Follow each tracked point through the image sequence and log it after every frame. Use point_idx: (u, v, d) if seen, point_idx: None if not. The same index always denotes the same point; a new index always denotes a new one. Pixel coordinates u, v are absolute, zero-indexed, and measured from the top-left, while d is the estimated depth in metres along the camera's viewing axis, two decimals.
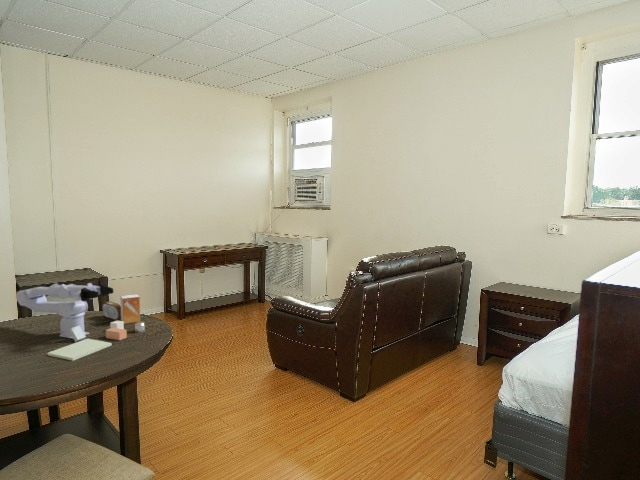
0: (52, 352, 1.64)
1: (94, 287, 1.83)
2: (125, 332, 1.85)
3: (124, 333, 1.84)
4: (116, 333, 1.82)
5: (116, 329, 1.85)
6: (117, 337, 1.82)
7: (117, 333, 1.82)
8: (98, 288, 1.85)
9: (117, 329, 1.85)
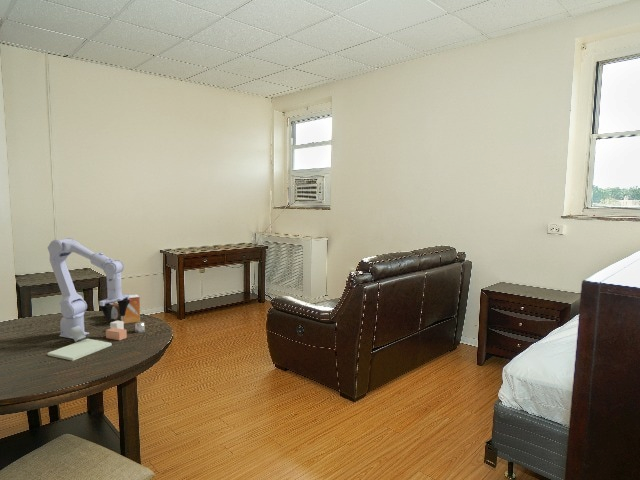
0: (52, 352, 1.64)
1: None
2: (125, 332, 1.85)
3: (124, 333, 1.84)
4: (116, 333, 1.82)
5: (116, 329, 1.85)
6: (117, 337, 1.82)
7: (117, 333, 1.82)
8: (123, 297, 1.87)
9: (117, 329, 1.85)
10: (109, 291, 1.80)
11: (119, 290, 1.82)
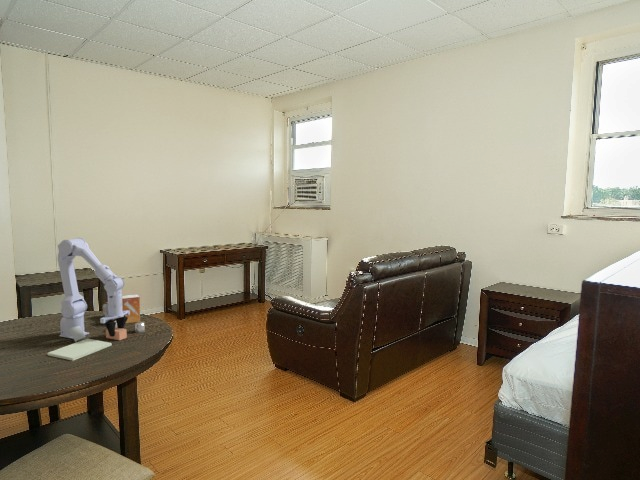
0: (52, 352, 1.64)
1: None
2: (125, 332, 1.85)
3: (124, 333, 1.84)
4: (116, 333, 1.82)
5: (116, 329, 1.85)
6: (117, 336, 1.82)
7: (117, 332, 1.82)
8: (124, 314, 1.87)
9: (117, 329, 1.85)
10: (110, 308, 1.81)
11: (120, 307, 1.83)
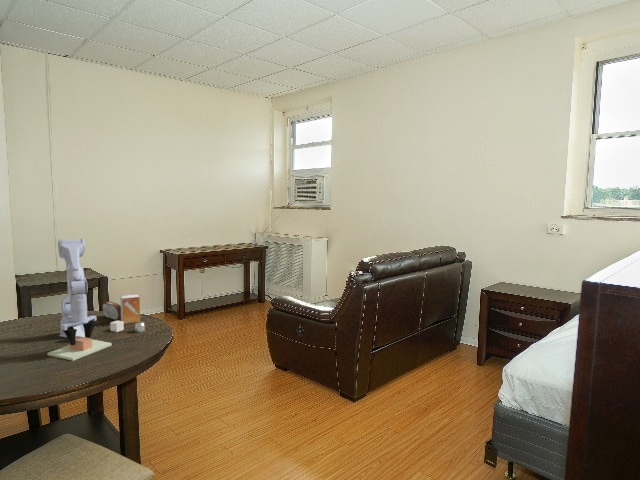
0: (52, 352, 1.64)
1: None
2: (90, 341, 1.69)
3: (89, 342, 1.69)
4: (80, 342, 1.66)
5: (81, 338, 1.70)
6: (81, 346, 1.66)
7: (81, 342, 1.66)
8: None
9: (82, 338, 1.70)
10: (72, 313, 1.65)
11: (84, 312, 1.67)
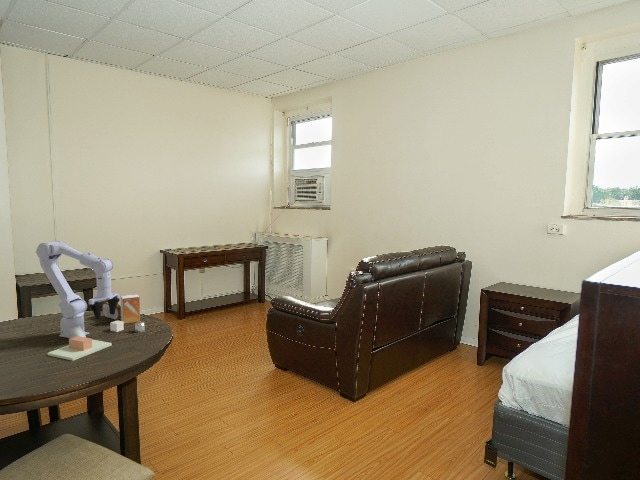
0: (52, 352, 1.64)
1: None
2: (90, 341, 1.69)
3: (89, 342, 1.69)
4: (80, 342, 1.66)
5: (81, 338, 1.70)
6: (81, 346, 1.66)
7: (81, 342, 1.66)
8: (113, 296, 1.87)
9: (82, 338, 1.70)
10: (98, 290, 1.81)
11: (109, 289, 1.83)
